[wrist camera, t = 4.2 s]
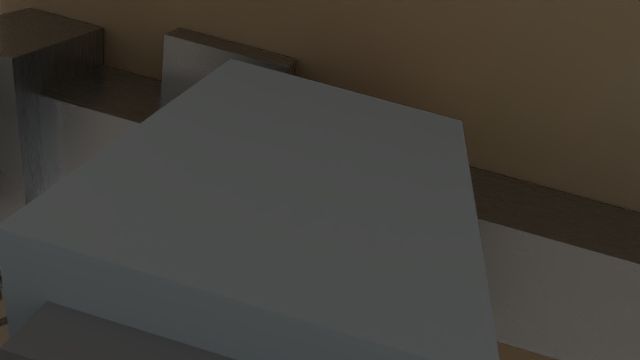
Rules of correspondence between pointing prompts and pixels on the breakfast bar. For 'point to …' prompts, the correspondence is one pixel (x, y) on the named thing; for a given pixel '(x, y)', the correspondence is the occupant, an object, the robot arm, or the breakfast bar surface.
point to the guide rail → (210, 53)
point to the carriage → (256, 235)
